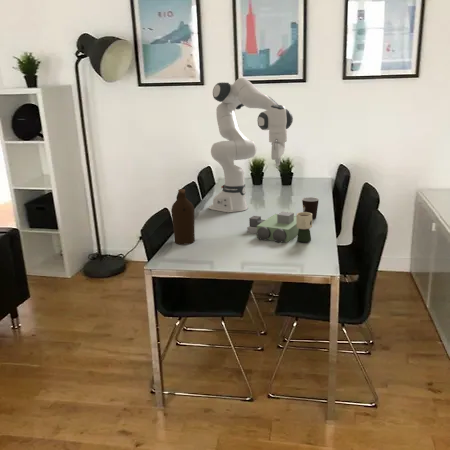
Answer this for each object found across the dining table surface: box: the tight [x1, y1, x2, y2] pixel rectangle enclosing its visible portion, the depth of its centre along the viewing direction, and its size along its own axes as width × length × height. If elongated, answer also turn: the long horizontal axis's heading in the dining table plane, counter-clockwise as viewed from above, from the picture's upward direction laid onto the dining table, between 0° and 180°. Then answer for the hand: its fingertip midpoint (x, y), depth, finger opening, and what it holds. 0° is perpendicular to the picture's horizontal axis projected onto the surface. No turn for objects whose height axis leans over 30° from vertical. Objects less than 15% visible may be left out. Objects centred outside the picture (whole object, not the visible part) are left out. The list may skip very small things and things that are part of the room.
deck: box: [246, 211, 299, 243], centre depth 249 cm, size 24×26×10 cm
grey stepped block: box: [248, 215, 266, 228], centre depth 253 cm, size 8×5×6 cm, turn 62°
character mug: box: [295, 211, 313, 243], centre depth 234 cm, size 11×7×13 cm, turn 179°
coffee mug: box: [301, 196, 320, 220], centre depth 272 cm, size 12×9×10 cm
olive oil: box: [170, 188, 196, 246], centre depth 238 cm, size 11×11×25 cm
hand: (277, 165), depth 261 cm, fingers closed
